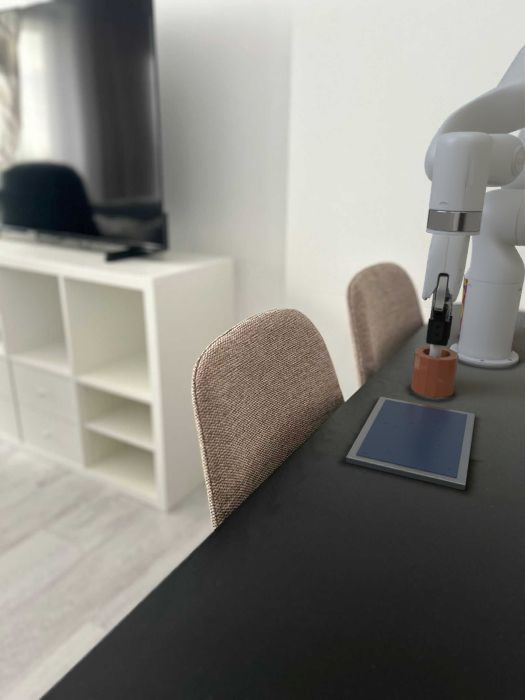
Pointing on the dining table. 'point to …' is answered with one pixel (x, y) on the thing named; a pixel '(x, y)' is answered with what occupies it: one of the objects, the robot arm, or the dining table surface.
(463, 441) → the tablet
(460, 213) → the robot arm
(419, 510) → the dining table surface
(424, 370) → the holder
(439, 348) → the stylus
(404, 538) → the dining table surface
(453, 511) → the dining table surface
